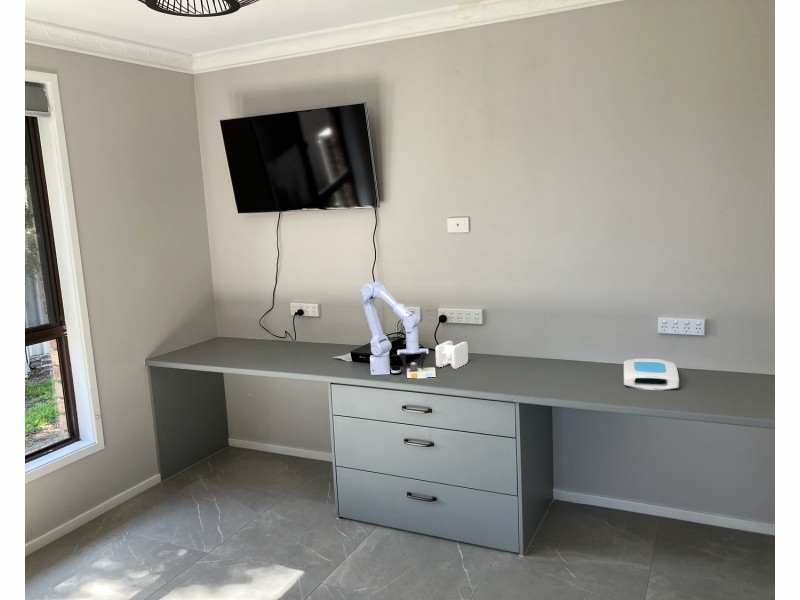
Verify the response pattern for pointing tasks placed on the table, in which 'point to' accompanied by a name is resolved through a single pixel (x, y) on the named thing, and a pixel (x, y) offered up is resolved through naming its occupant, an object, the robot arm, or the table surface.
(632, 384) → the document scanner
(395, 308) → the robot arm
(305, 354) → the table surface
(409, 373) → the white printed box
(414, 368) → the plug
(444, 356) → the cable organizer
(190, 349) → the table surface
